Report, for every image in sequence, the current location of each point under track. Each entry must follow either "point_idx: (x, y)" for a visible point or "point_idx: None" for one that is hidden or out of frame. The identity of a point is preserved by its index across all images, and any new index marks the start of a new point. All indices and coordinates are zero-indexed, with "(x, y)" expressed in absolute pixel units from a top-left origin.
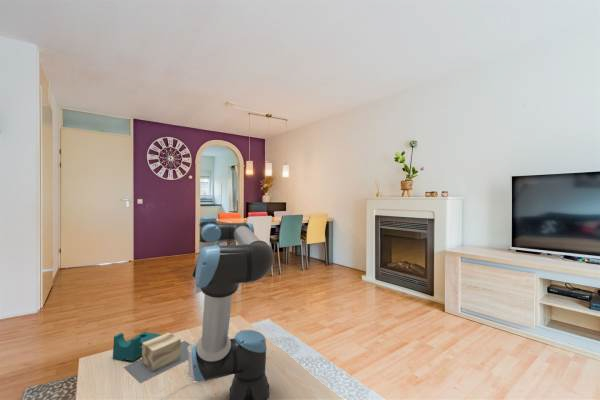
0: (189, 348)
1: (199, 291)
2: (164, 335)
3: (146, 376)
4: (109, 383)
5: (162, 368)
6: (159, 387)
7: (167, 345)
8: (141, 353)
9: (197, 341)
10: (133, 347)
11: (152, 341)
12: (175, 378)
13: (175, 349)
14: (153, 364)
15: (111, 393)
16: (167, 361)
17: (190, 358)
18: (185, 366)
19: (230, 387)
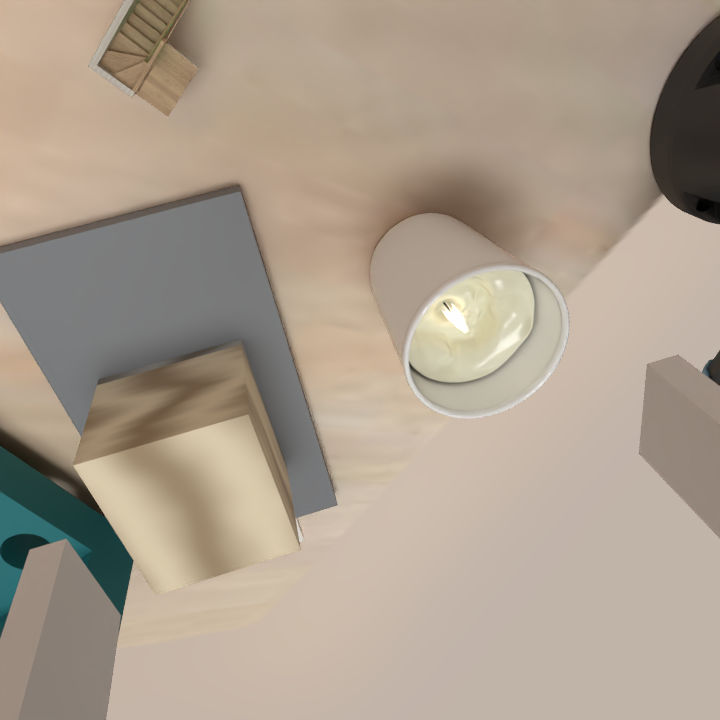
0: (422, 392)
1: (85, 585)
2: (115, 493)
3: (301, 485)
4: (231, 577)
5: (279, 426)
6: (388, 435)
7: (275, 485)
8: (88, 516)
9: (408, 346)
10: (124, 599)
11: (171, 553)
12: (371, 372)
13: (255, 409)
14: (290, 489)
15: (306, 566)
16: (267, 418)
17: (481, 385)
18: (298, 312)
19: (691, 204)
